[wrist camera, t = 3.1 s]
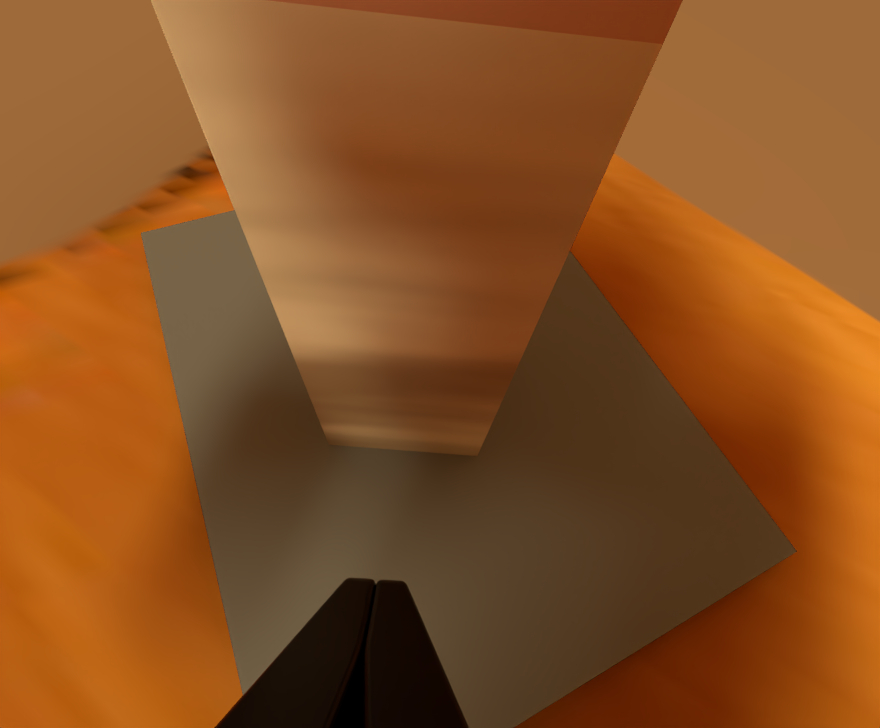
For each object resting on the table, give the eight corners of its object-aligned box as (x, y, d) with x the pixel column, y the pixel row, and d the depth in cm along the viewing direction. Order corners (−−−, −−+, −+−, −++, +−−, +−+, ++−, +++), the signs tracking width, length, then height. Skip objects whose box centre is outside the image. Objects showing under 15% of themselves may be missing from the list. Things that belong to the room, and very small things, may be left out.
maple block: (477, 456, 14) (686, -8, 4) (329, 444, 14) (120, -75, 4) (479, 332, 16) (615, -178, 6) (350, 321, 16) (261, -223, 6)
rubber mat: (288, 858, 10) (282, 871, 10) (148, 244, 18) (140, 233, 18) (782, 553, 14) (796, 551, 14) (489, 158, 22) (492, 147, 21)
